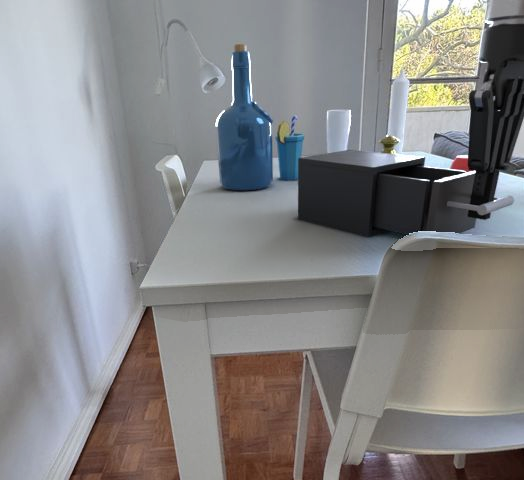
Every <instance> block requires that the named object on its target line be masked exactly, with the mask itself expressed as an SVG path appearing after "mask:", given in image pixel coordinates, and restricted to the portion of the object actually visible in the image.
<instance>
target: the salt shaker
mask: <svg viewBox="0 0 524 480" xmlns="http://www.w3.org/2000/svg"><path fill="white" fill-rule="evenodd" d="M378 143H379V144H380V146H381V147H382V150H381V152H380V153H388V154H396V153H395V152H394V147H395V146H396V145H397V144H398V143H399V140H398V139H397V138H394V137H393V136H391V135H388V134H387V135H386V136H384V137H381V138H380V139H379V140H378Z"/></svg>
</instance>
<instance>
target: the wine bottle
mask: <svg viewBox="0 0 524 480" xmlns="http://www.w3.org/2000/svg"><path fill="white" fill-rule="evenodd" d="M233 48H234V51H232V53H231V68H230V69H231V70H232V102H231V105H230V106H229V107H227V108H226V109H224V110H223V111H222V112H221V113H220V114H219V115H218V117H217V118H216V122H215V132H216V147H217V163H218V172H219V173H218V175H219V184H220V185H221V187H222V188H223V189H224V190H230V191H235V192H248V191H249V192H250V191H259V190H262V189H266V188H269V187H270V186H271V185H272V184H273V182H274V167H273V165H274V161H273V159H274V158H273V123H274V122H275V121H274V119H273V118H272V117H271V115H270V114H268V113H267V112H266V111H265V109H263V108H261V106H260V105H258V103H257V102H256V101H255V100H253V90H252V87H253V86H252V75H251V69H252V66H251V65H252V63H251V57H250V51H247V48H248V47H247V44H246V43H236V44H235V45H234V47H233Z"/></svg>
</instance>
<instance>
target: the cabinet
mask: <svg viewBox="0 0 524 480" xmlns="http://www.w3.org/2000/svg"><path fill="white" fill-rule="evenodd" d="M425 162H426V156H417V155H408V154H407V155H406V154H402V155H398V154H388V153H381V152H376V151H366V150H356V149H347V150H345V151H339V152H332V153H327V152H326V153H321V154H314V155H308V156H301V158H298V179H297V219H298V220H301V221H305V222H308V223H313V224H317V225H321V226H325V227H328V228H334V229H337V230H341V231H345V232H349V233H352V234H356V235H360V236H366V237H371V236H374V235H377V234H381V233H384V232H387V231H388V230H385V229H381V228H376V227H372V226H373V214H374V202H375V191H376V179H377V173H378V172H383V171H388V170H392V169H397V168H402V167H407V166H411V165H418V166H425Z"/></svg>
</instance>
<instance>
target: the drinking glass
mask: <svg viewBox="0 0 524 480" xmlns="http://www.w3.org/2000/svg"><path fill="white" fill-rule="evenodd" d="M351 116H352V115H351V109H328V110H327V111H326V123H325V124H326V125H325V126H326V149H327V150H326V151H327V152H326V153H332V152H339V151H345V150H348V143H349V134H350V129H351V128H350V127H351Z"/></svg>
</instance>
